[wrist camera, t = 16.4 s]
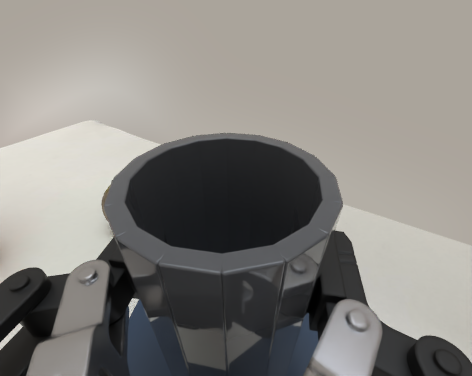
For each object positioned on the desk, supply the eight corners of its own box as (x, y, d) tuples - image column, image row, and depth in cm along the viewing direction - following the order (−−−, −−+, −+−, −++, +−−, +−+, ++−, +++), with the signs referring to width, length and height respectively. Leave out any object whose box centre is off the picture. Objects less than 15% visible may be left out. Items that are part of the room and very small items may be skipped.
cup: (291, 294, 15) (326, 139, 9) (291, 437, 10) (369, 297, 4) (192, 278, 16) (165, 127, 10) (146, 401, 11) (40, 246, 5)
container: (316, 330, 21) (336, 280, 17) (334, 546, 13) (383, 554, 8) (176, 305, 23) (162, 254, 19) (109, 479, 14) (55, 458, 10)
